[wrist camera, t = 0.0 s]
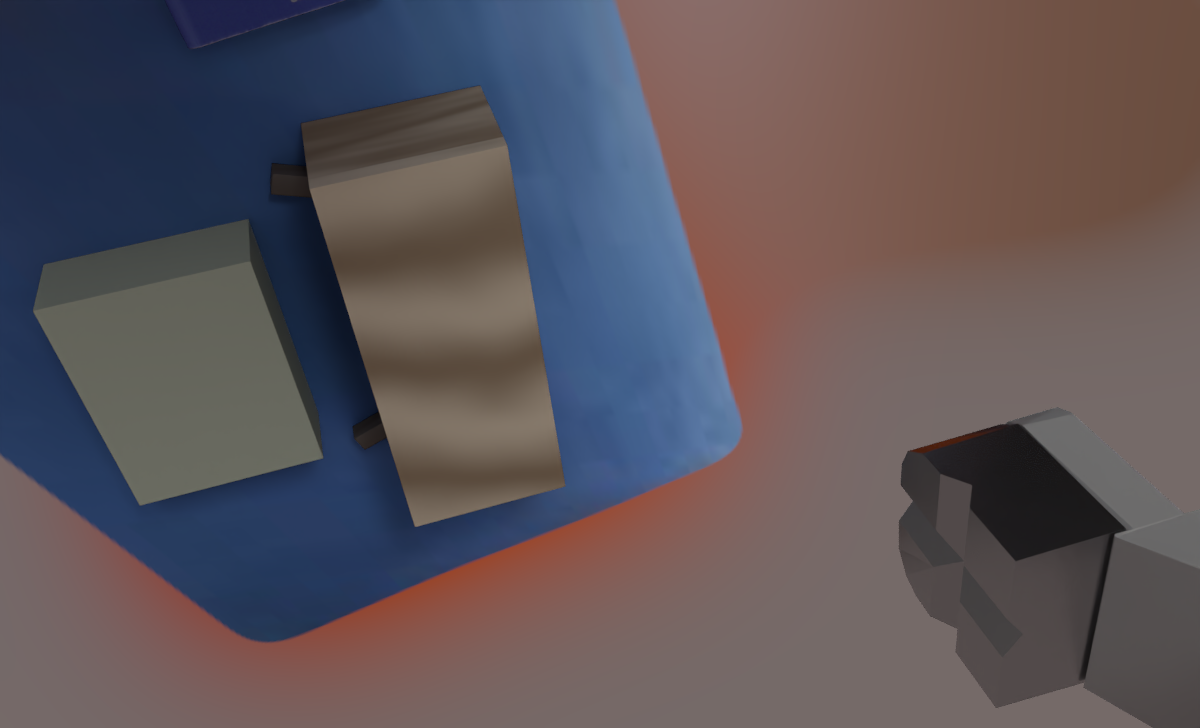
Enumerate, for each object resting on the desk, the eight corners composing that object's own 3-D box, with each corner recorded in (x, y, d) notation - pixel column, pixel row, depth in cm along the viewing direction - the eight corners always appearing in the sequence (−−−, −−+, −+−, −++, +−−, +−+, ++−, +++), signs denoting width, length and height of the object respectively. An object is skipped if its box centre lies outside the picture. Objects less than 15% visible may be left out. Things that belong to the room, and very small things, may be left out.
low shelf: (253, 133, 46) (257, 200, 42) (480, 85, 48) (507, 145, 43) (363, 459, 59) (375, 537, 55) (539, 413, 61) (565, 486, 56)
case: (44, 260, 48) (32, 310, 45) (248, 215, 49) (250, 261, 46) (144, 451, 55) (139, 505, 52) (317, 407, 57) (323, 458, 54)
